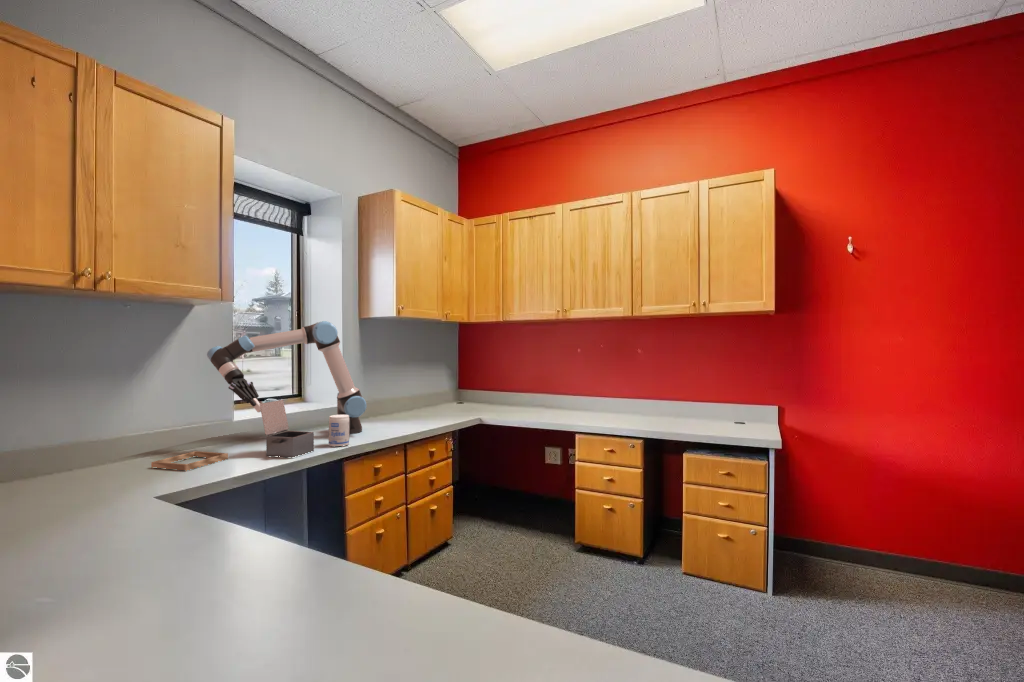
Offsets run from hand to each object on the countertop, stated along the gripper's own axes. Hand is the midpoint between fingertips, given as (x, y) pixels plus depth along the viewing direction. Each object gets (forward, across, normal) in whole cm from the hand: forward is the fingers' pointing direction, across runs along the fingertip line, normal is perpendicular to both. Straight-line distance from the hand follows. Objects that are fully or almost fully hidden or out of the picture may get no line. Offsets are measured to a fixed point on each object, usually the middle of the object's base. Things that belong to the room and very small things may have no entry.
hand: (260, 410), depth 223 cm
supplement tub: (+33, -22, +5) cm, 40 cm away
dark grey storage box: (+25, -1, -2) cm, 25 cm away
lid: (+8, -1, +3) cm, 8 cm away
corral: (+5, +24, -23) cm, 34 cm away
